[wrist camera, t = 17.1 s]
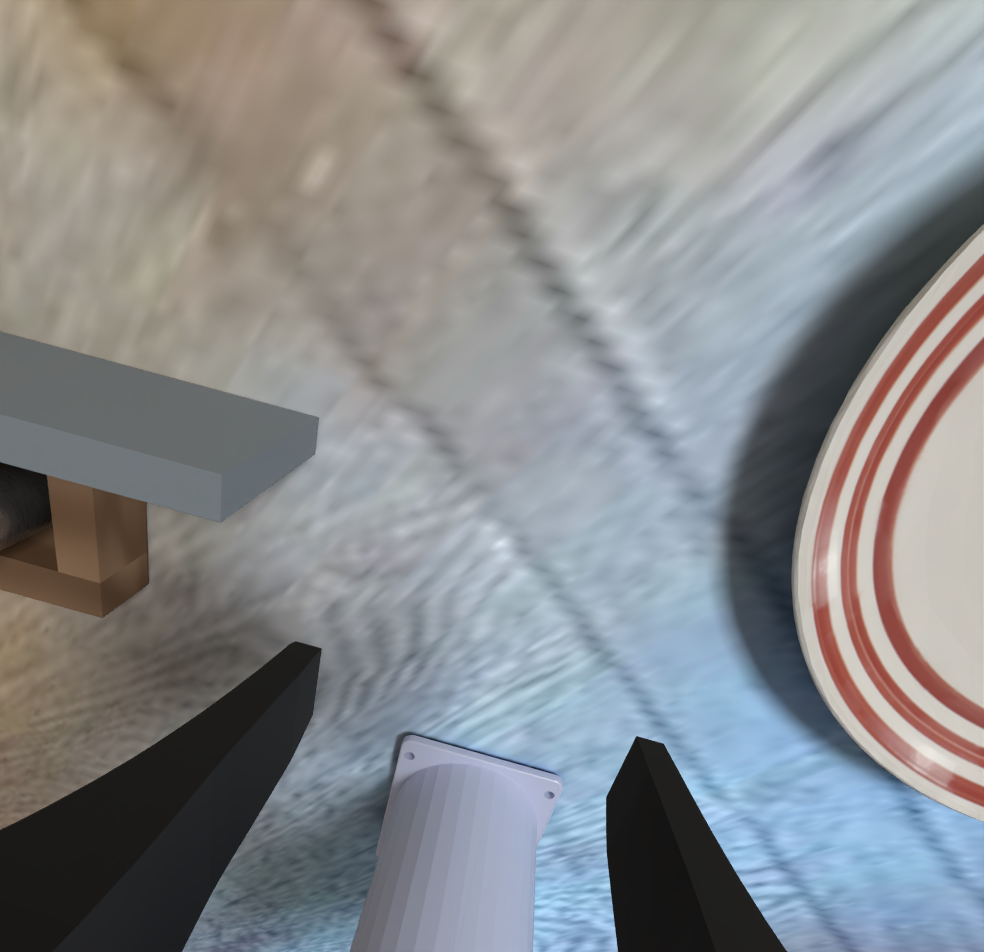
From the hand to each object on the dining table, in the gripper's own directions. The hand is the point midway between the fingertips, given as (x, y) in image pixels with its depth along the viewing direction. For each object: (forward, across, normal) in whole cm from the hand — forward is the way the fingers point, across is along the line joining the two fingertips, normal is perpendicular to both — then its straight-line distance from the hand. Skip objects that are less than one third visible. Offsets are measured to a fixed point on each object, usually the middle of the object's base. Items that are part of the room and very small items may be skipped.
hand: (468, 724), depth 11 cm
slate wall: (+9, +18, -2) cm, 20 cm away
